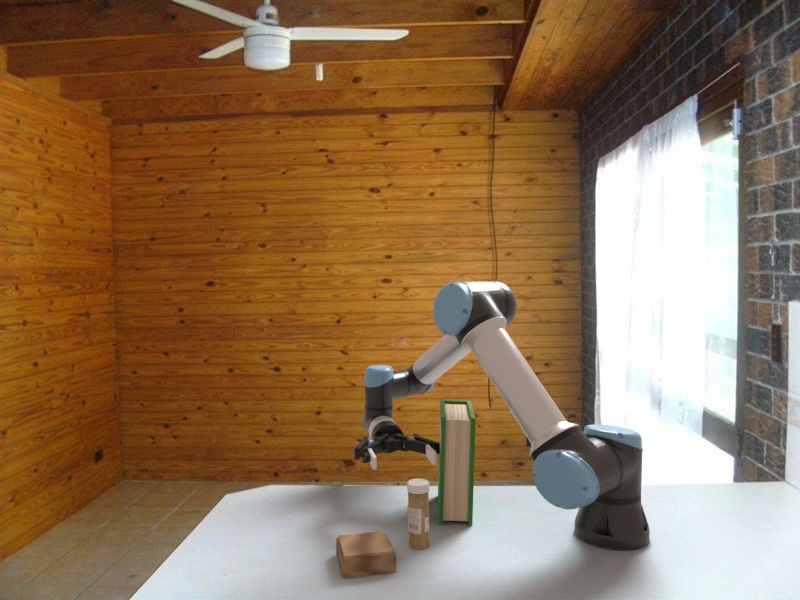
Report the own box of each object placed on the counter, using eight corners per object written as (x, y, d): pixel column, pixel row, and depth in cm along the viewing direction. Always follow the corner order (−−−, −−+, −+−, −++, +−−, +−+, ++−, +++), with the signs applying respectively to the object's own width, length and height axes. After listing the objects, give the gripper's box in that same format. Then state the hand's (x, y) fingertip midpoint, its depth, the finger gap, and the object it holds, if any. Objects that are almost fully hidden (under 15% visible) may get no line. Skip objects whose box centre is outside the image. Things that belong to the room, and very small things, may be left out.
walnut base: (385, 548, 129) (385, 529, 129) (396, 572, 119) (395, 551, 119) (336, 554, 127) (336, 534, 126) (343, 578, 117) (342, 557, 117)
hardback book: (472, 525, 140) (475, 418, 139) (438, 524, 140) (441, 417, 139) (467, 496, 158) (470, 400, 156) (437, 495, 158) (440, 399, 157)
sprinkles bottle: (434, 546, 130) (433, 482, 129) (415, 552, 127) (415, 486, 127) (421, 538, 134) (420, 476, 133) (403, 544, 131) (402, 480, 130)
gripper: (433, 446, 163) (459, 473, 143) (336, 452, 158) (349, 482, 137) (433, 417, 163) (459, 441, 142) (336, 422, 157) (349, 448, 136)
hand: (405, 461), depth 139 cm, fingers open, 13 cm apart
